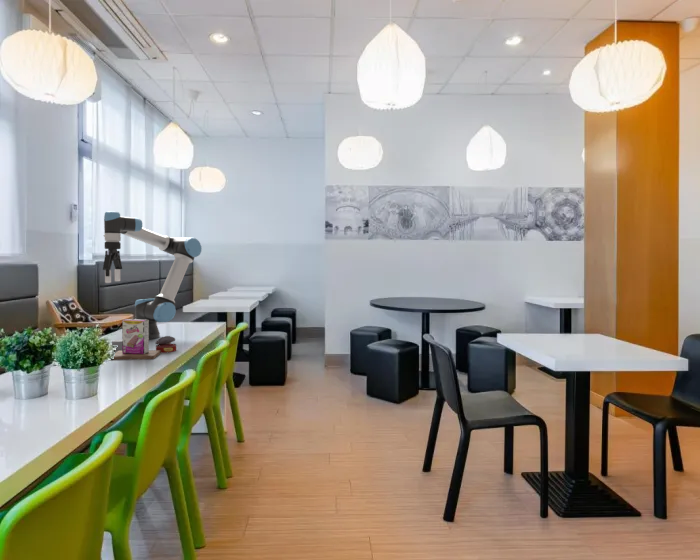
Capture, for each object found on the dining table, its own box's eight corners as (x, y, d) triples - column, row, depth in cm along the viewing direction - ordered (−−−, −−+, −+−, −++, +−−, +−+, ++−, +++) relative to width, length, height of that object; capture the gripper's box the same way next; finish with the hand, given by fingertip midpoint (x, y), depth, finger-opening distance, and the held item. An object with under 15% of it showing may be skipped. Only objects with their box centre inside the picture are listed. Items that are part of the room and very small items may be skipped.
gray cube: (115, 349, 245) (115, 339, 245) (125, 349, 246) (125, 339, 245) (112, 351, 240) (111, 341, 240) (122, 351, 241) (122, 341, 240)
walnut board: (119, 353, 234) (119, 350, 234) (160, 353, 237) (160, 350, 237) (108, 359, 221) (108, 356, 220) (153, 359, 223) (153, 356, 223)
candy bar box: (121, 353, 227) (121, 320, 226) (127, 351, 232) (127, 318, 231) (144, 354, 226) (144, 320, 225) (149, 352, 231) (149, 319, 230)
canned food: (157, 361, 239) (147, 344, 238) (165, 355, 249) (155, 338, 248) (176, 352, 238) (166, 334, 237) (183, 346, 248) (174, 329, 247)
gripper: (113, 242, 258) (113, 280, 259) (95, 240, 233) (95, 283, 234) (128, 242, 259) (128, 280, 260) (111, 241, 234) (111, 283, 236)
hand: (112, 282), depth 247 cm, fingers open, 13 cm apart
